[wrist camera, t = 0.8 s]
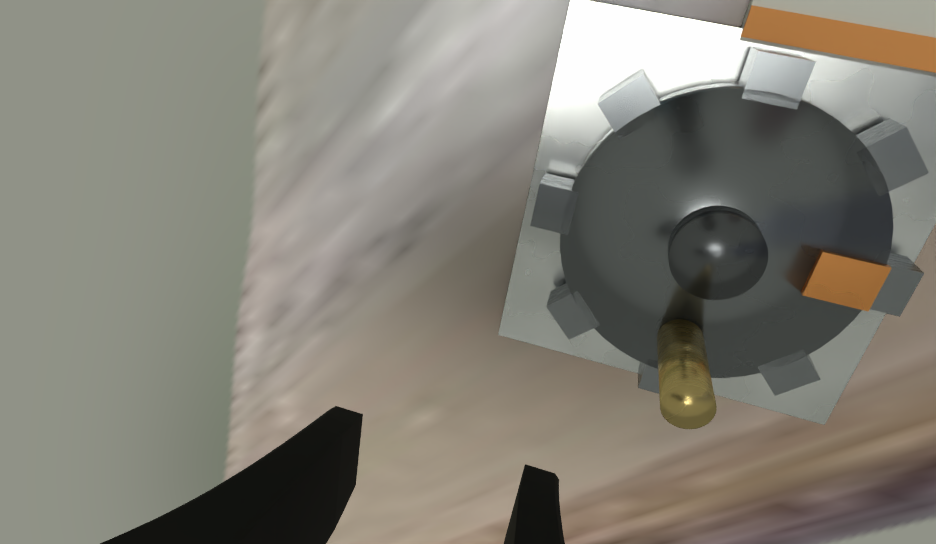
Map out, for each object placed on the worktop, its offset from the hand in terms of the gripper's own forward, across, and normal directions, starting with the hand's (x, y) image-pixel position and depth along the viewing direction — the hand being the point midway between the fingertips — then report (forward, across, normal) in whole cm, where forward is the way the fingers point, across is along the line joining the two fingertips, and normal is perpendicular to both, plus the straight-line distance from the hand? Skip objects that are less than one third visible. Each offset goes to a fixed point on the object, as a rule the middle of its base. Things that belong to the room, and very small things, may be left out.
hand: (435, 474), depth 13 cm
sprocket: (+10, -6, -3) cm, 12 cm away
